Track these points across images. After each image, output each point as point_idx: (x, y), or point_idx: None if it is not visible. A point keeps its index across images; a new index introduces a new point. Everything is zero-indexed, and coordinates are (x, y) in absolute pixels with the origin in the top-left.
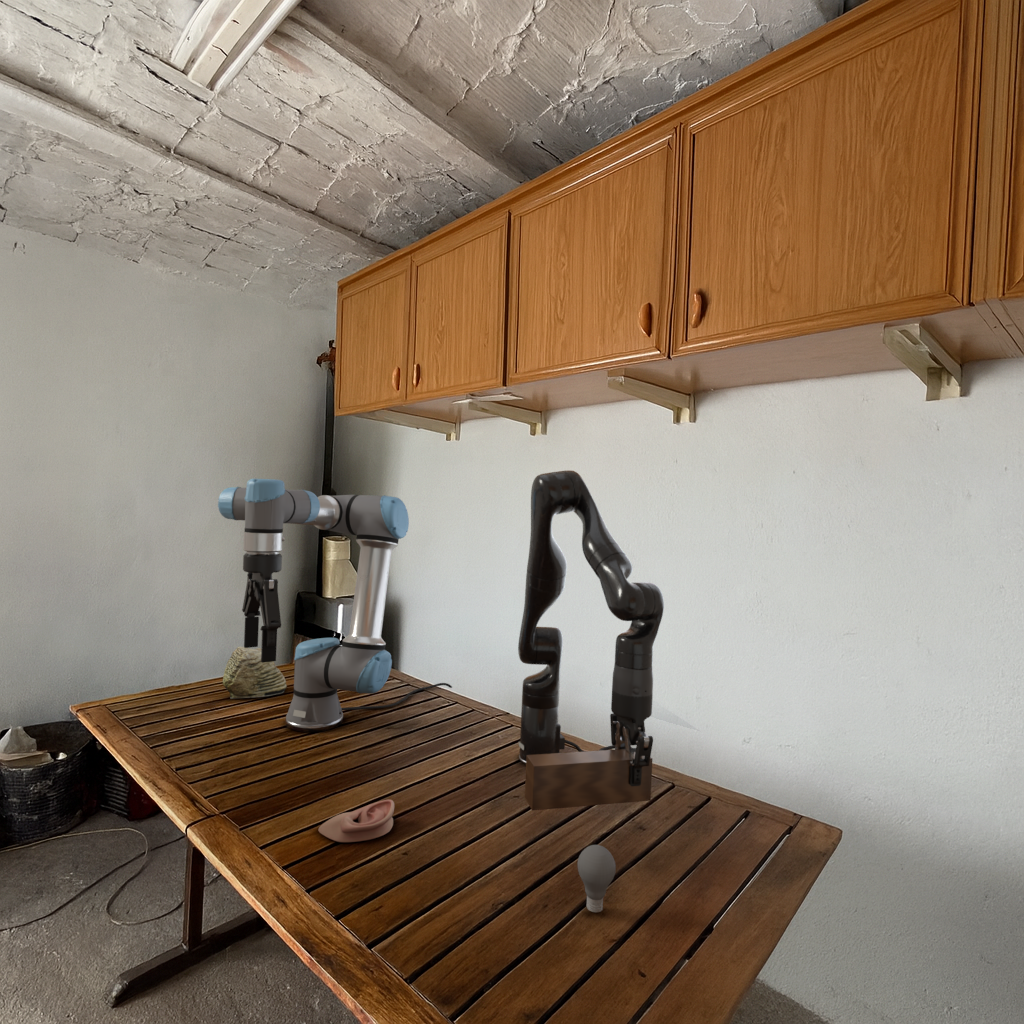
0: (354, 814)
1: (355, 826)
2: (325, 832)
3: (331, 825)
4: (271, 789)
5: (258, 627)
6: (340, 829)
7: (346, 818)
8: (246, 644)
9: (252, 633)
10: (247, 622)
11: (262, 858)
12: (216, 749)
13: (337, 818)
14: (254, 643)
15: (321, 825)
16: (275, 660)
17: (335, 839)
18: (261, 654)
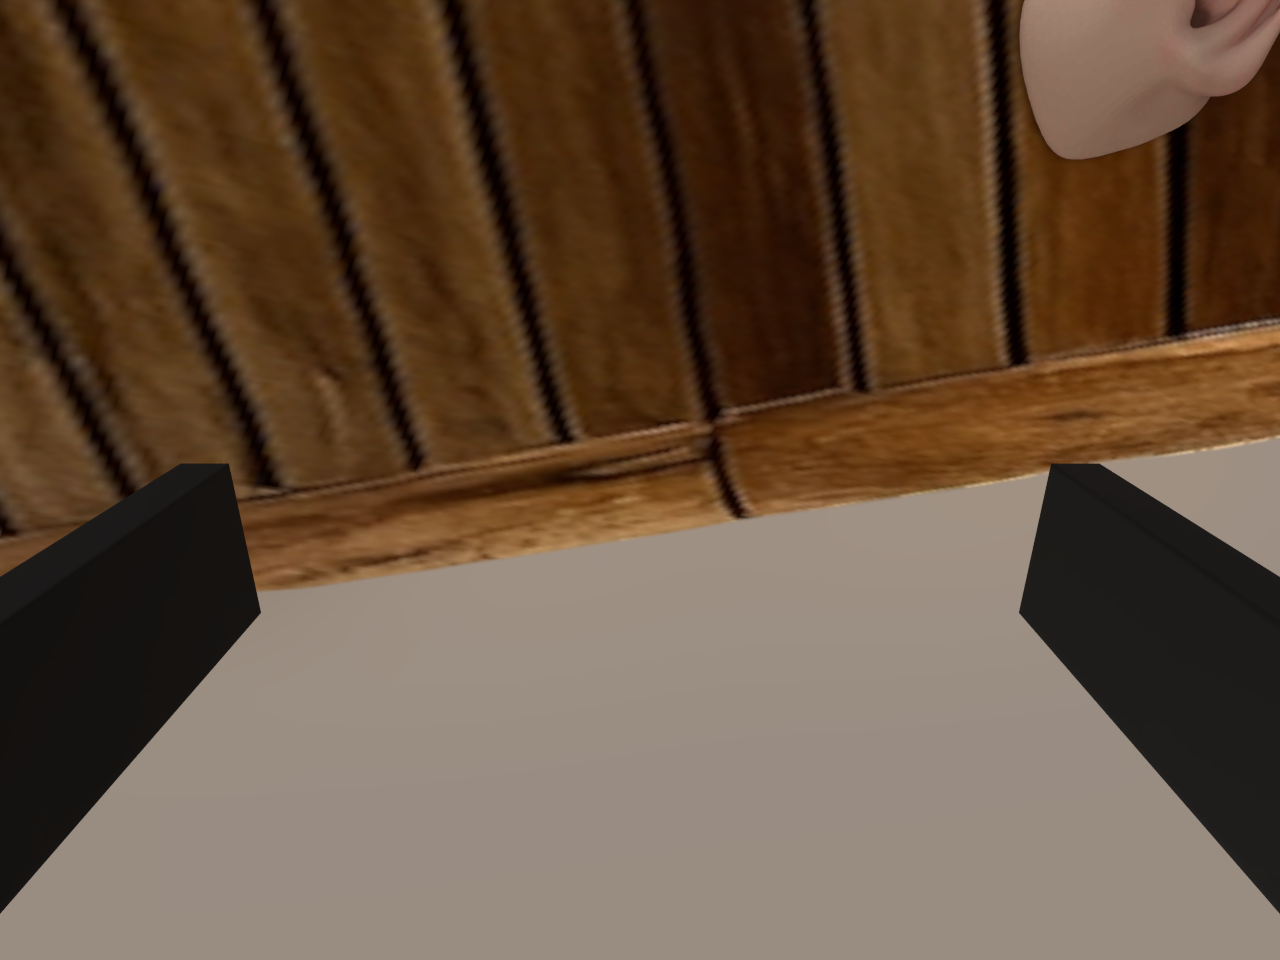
0: (1180, 4)
1: (1266, 45)
2: (1116, 145)
3: (1123, 114)
4: (618, 210)
5: (28, 608)
6: (1184, 96)
7: (1197, 57)
8: (235, 619)
9: (130, 641)
10: (1, 877)
11: (1079, 375)
12: (95, 315)
13: (1113, 75)
14: (210, 526)
15: (1062, 140)
16: (1103, 472)
17: (1177, 126)
18: (1076, 666)
